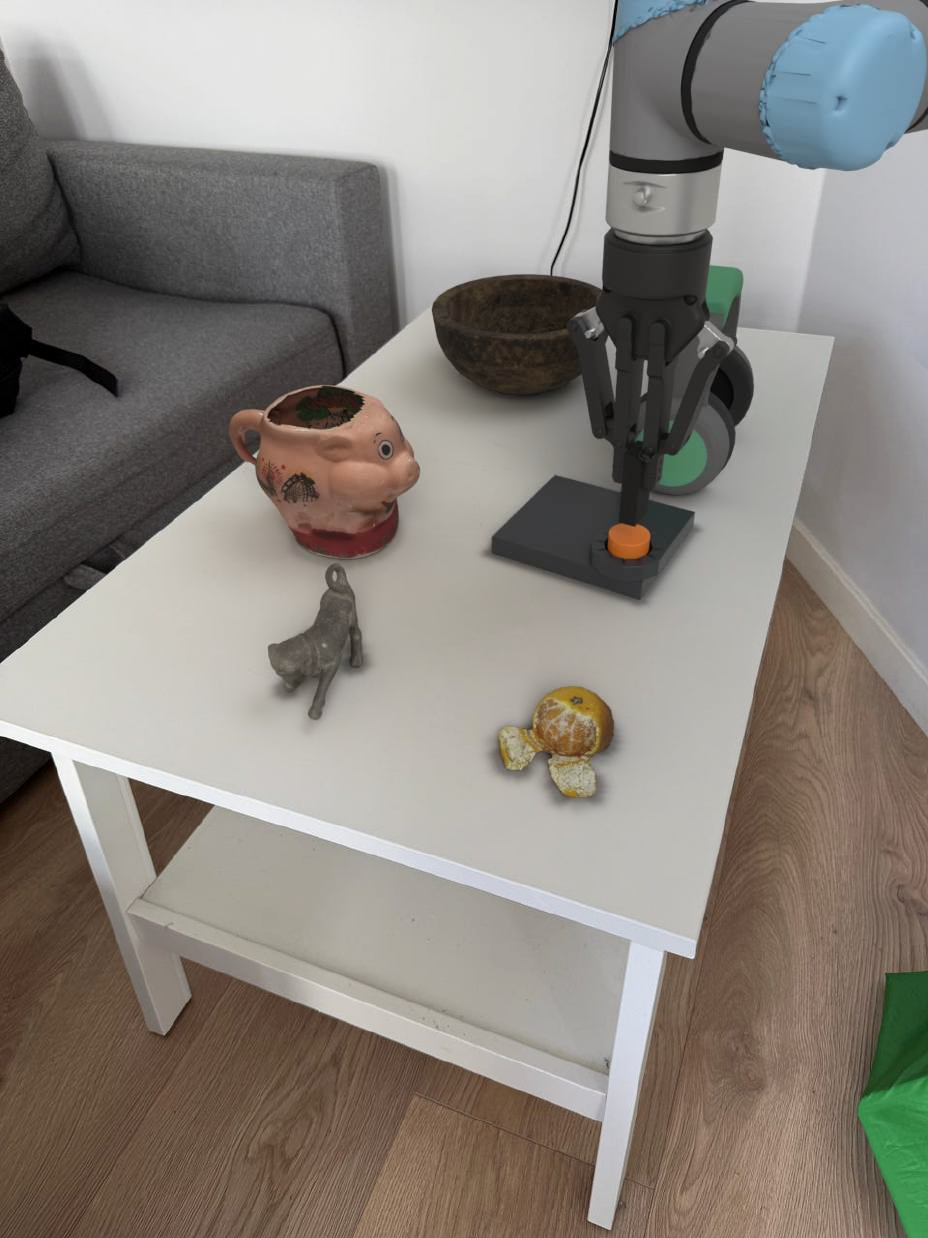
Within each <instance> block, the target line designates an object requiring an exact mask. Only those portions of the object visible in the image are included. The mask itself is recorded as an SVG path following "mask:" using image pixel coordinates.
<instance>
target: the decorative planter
mask: <svg viewBox="0 0 928 1238" xmlns="http://www.w3.org/2000/svg"><path fill="white" fill-rule="evenodd" d="M228 427H229V428H228V431H227V433H228V436H229V438H230V440H231V443H232V445H233V447H234V449H235V451H236V452H237V455H238V456H239V457H240V458H241V459H242V460H243V461H244V462H246V463H250V464H252V465H253V466H254V471H255V476H256V480H257V481H258V485H259V486H260V488H261V490H262V491H263V492H264V494H265V495H266V497H267V498H268V499H269V500H270V501H271V502H272V503H273V505H274V506H275V508H276V509H277V510H278V512H279V514H280V515H281V517H282V518H283V520H284V521H285V523H286V526H288V528H289V530H290V531H291V532H292V534H293V536H294V538H295V541H296V543H297V544H298V545H299V546H301V547H302V548H303V549H305V550H307V551H309V552H311V553H313V554H316V555H318V556H322V557H329V558H335V559H341V560H342V559H344V560H352V559H358V558H359V559H360V558H364V557H367V556H369V555H372V554H376V553H377V552H378V551H380V550H382V549H383V548H384V547H386V546H387V545H389V544H390V543H391V542H392V540H394V537H395V536H396V534H397V532H398V529H399V521H400V513H399V511H400V510H399V504H398V503H399V502H398V497H400V496H402V495H403V494H405V493H406V492H408V491H409V490H411V489H412V488H413V487H414V486H415V485H416V484H417V483H418V481H419V478H420V475H421V466H420V464H419V462H418V461H417V460H416V459H415V452H414V449H413V446H412V445H411V443H410V442H409V440H408V439H407V438H406V437H405V435H404V433H403V431H402V428H401V426H400V424H399V422H398V420H397V419H396V418H395V417H394V416H393V415H392V414H391V413H390V411H389V410H388V409H387V408H386V406H385V405H384V404H383V402H382V401H381V400H379V398H377V397H375V396H372V395H370V394H366V393H364V392H361V391H358V390H355V389H353V388H349V387H345V386H340V385H331V384H330V385H329V384H317V385H311V386H306V387H302V388H299V389H295V390H293V391H290V392H287V393H286V394H283V395H282V396H279V397H278V398H277V399H275V400H274V401H273V402H271V404H270V405H268V407H267V408H266V409H265V410H262V409H255V408H250V409H242V410H240V411H238V412H237V413H235V414H233V416H232V417H231V419H230V423H229V426H228ZM250 430H251V431H255V432H256V433H257V434H259V436H260V445H259V448H258V452H257V455H256V457H255V456H254V455H253V454H252V453H251V451H250V449H249V448H248V446H247V444H246V432H247V431H250Z"/></svg>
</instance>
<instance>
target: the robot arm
mask: <svg viewBox="0 0 928 1238" xmlns="http://www.w3.org/2000/svg"><path fill="white" fill-rule="evenodd" d="M613 35H614V36H613V37H612V39H611V46H612V48H613V58H612V59H613V61H612V81H611V101H610V102H611V104H610V123H609V144H608V149H609V151H608V169H607V183H606V184H607V185H606V201H605V202H606V204H605V217H604V218H605V219H604V220H605V222H606V224H607V225H608V226H609V227H610V228H609V229H608V230H607V231H606V233H605V234H604V236H603V249H602V250H603V252H602V267H601V268H602V270H601V281H602V288H601V289H602V291H601V293H600V295H599V297H598V298H597V300H596V304H595V307H594V308H592V309H590V310H587V309H585V310H583V311H581V312H580V313H579V314H577V315H576V316H575V317H573V318H572V319H571V320H569V321H568V322H567V324H566V328H567V331H568V333H569V335H570V337H571V339H572V340H573V342H574V344H575V346H576V348H577V350H578V356H579V361H580V367H581V373H582V374H581V377H582V382H583V388H584V395H585V400H586V406H587V410H588V416H589V422H590V423H589V424H590V429H591V433H592V436H593V437H594V438H595V439H597V440H602V439H604V440H605V441H607V442H608V443H610V444H611V446H612V448H613V455H612V459H613V460H612V471H611V477H612V481H613V482H614V483H617V484H621V488H620V492H621V499H620V512H619V523H622V524H626V525H630V526H633V527H635V526H636V525H637V524H638V523H639V521H640V520H641V519H642V518H643V517H644V515H645V514H646V513H647V510H648V500H650V492H653V491H655V490H654V489H655V487H656V486H657V485H658V484H659V482H660V481H661V479H662V470H663V469H662V468H663V461H664V454H668V455H671V456H674V455H676V454H678V452H679V451H680V450H681V449H682V448H683V447H684V445H685V444H686V443H687V442H688V441H689V439H690V437H691V434H692V432H693V429H694V427H695V424H696V422H697V419H698V417H699V414H700V412H701V410H702V407H703V405H704V402H705V400H706V397H707V395H708V392H709V390H710V387H711V385H712V382H713V380H714V377H715V375H716V372H717V370H718V368H719V365H720V363H721V362H722V360H723V359H724V358H725V357H726V356H727V355H728V354H729V353H730V352H731V351H732V350H733V349H734V348H735V346H738V338H737V335H736V336H735V335H734V334H732V333H726V334H725V335H724V334H723V333H722V332H721V331H719V330H718V329H717V328H716V327H715V326H714V325H713V324H712V323H711V322H710V321H709V319H710V310H709V308H708V305H707V302H706V289H707V283H708V275H709V267H710V265H711V257H712V249H713V241H714V236H713V235H712V233H711V232H710V230H709V228H711V227H712V226H713V225H714V224H715V223H716V218H717V209H718V204H719V203H718V202H719V194H720V184H721V175H722V168H723V160H724V154H725V149H729V150H733V151H738V152H742V153H746V154H751V155H756V156H759V157H763V158H767V159H772V160H776V161H780V162H786V163H787V164H789V165H791V166H794V165H796V166H797V167H798V168H800V169H803V170H811V171H815V170H818V169H827V170H835V171H842V172H855V171H861V170H863V169H867V168H869V167H871V166H872V165H874V164H875V163H877V162H879V161H880V160H881V158H882V156H883V154H884V153H885V152H886V151H888V150H889V149H891V148H893V147H895V146H896V145H897V144H898V142H899V141H900V140H901V139H902V137H903V136H904V135H908V134H911V133H918V132H921V131H926V130H928V0H832V1H824V2H806V3H805V2H801V3H799V2H798V3H797V2H773V1H772V2H768V1H767V2H766V1H765V2H764V1H755V0H618V1H617V9H616V17H615V26H614V34H613ZM604 328H605V329H606V331H607V333H608V335H609V336H608V338H610V340H611V342H612V344H613V346H614V348H615V361H614V369H615V370H616V380H615V395H614V389H613V383H612V376H611V371H610V364H609V357H608V352H607V346H606V344H605V340H604V337H603V334H602V333H603V331H604ZM696 336H697V337H698V338H699V345H698V348H697V355H698V357H699V358H700V359H701V360H700V361H699V362H698V364H697V365H696V367H695V369H694V371H693V373H692V376H691V378H690V381H689V383H688V386H687V389H686V391H685V394H684V396H683V399H682V402H681V404H680V407H679V409H678V412H677V415H676V417H675V420H674V422H673V425H672V428H671V430H670V433H669V423H670V414H671V405H672V395H673V386H674V377H675V368H676V365H677V363H678V359H679V354H680V353H681V352H682V351H683V350H684V349H685V348H686V347H687V346H688V344H689V343H690V342H691V341H692V340H693V339H694V338H695V337H696ZM645 361H646V362H647V365H646V376H647V378H648V379H647V388H646V389H647V391H646V392H647V400H646V412H645V423H644V434H643V441H639V440H637V441H636V442H635V438H636V437H637V435H638V434H639V433H640V432H641V430H639V431H638V424H639V413H640V402H641V396H642V390H643V379H644V378H643V377H644V366H645Z"/></svg>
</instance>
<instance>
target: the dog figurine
mask: <svg viewBox="0 0 928 1238" xmlns="http://www.w3.org/2000/svg"><path fill="white" fill-rule="evenodd" d="M334 572H335V573H336V579H334V576H333V575H334ZM324 579H325V582H326V586H327V589H326V590H325V591H324V592H323V594H322V596H321V597H320V600H319V610H318V612H317V615H316V616H315V620H314V621H313V624H312V625H311V626H310V627H308V628H307V629H306V630H305V631H304V632H300V633H298V634H297V635H295V636H293V637H289V638H287V639H286V640H283V641H281V642H279V643H271V644H269V645H268V646H267V652H268V659H269V663H270V666H271V668H272V669H273V670H274V672H275V674H276V675H277V676H279V677H281V678H282V680H283V681H284V682H285V683H284V685H283V689H284V690H285V691H286V692H289V693H290V692H293V691H295V690H296V689H297V688H298V687H299V686H300V685H301V683H302V681H304V679H305V678H306V677H310V678H311V677H313V678H314V677H317V676H319V675H320V677H319V681H318V685H317V689H316V691H315V694H314V696H313V699H312V704H311V706H310V707H309V709H308V711H307V716H308V718H310V720H314V721H319V720H320V719H321V718H322V716H323V708H324V706H325V705H326V695H327V692H328V690H329V687H330V685H331V684H332V680H333V679H334V678H335V676H336V674H337V672H338V670H339V667H340V665H341V662H342V659H343V653H342V652H343V651H342V650H343V649H344V647H345V645H346V644H347V641H348V638H349V640H350V658H349V664H350V665H349V666H351V667H354V668H359V667H361V666H362V665H363V664H364V660H363V658H362V653H363V645H362V641H363V637H362V631H361V628H360V627H359V620H358V619H359V618H358V614H357V605H356V595H355V592H354V590H353V589H352V586H351V585H350V583H349V581H348V578H347V573H346V571H345V568H344V567H343V566H341V564H339V563H337V562H335V563H332V564H330V565H329V566H328V567H327V568H326V570H325V574H324Z"/></svg>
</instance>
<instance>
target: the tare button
mask: <svg viewBox="0 0 928 1238" xmlns="http://www.w3.org/2000/svg"><path fill="white" fill-rule="evenodd" d="M649 543H650V533H649V531H648V530H647V529H646V528H645V527H643V526H641V525H638V524H637V525H636V526H635V527H633V526H630V525H626V524H618V525H615V526H613V527H612V528H611V529H610V530H609V534H608V550H609V552H610V553H611V554H612V555H613V556H616V557H620V558H623V559H638V558H641V557H643V556H645V555H646V554H647V553H648V551H649Z"/></svg>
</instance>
